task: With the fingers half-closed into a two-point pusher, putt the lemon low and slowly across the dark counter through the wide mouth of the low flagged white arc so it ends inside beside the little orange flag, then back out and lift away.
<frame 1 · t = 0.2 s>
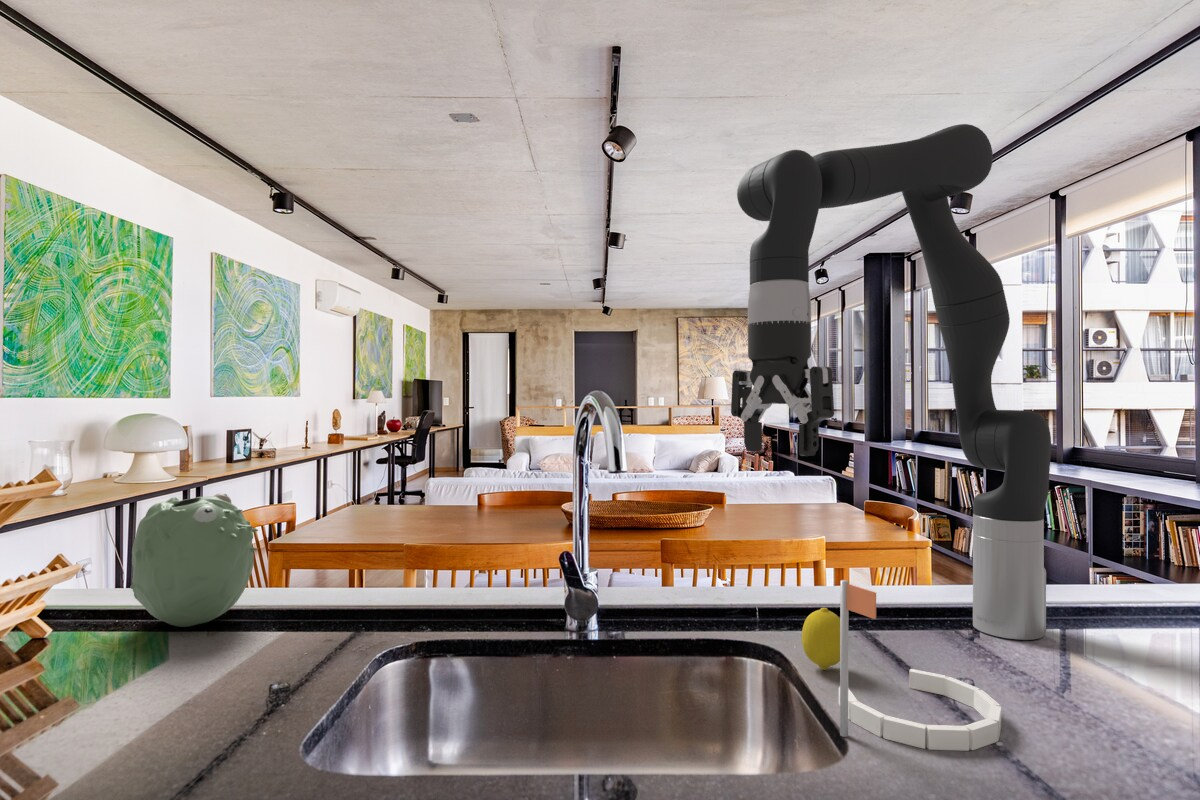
hand: (779, 453, 85), 28 cm above the worktop, tool pointing down, fingers open, 8 cm apart
flagged white arc: (917, 713, 77), on the worktop
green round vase: (192, 625, 107), on the worktop
lemon: (823, 671, 90), on the worktop
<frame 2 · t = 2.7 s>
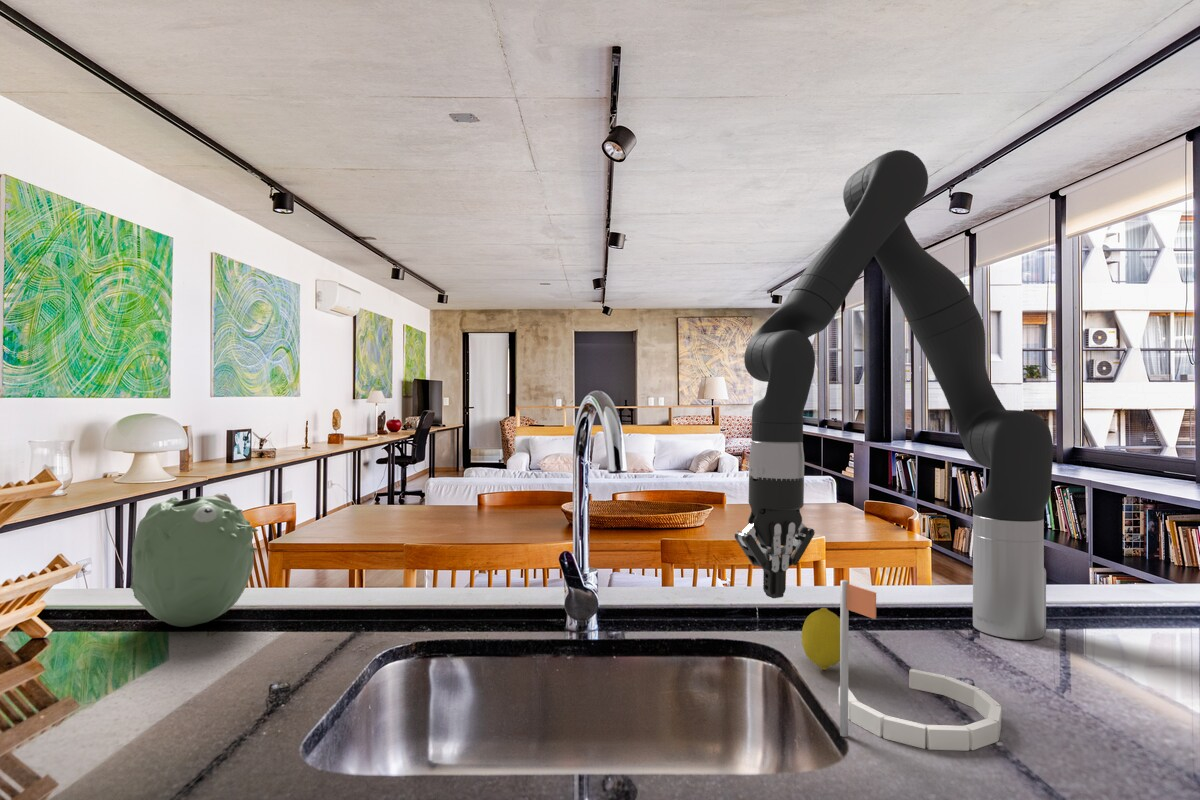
hand: (774, 596, 98), 7 cm above the worktop, tool pointing down, fingers closed
nothing on the worktop moved.
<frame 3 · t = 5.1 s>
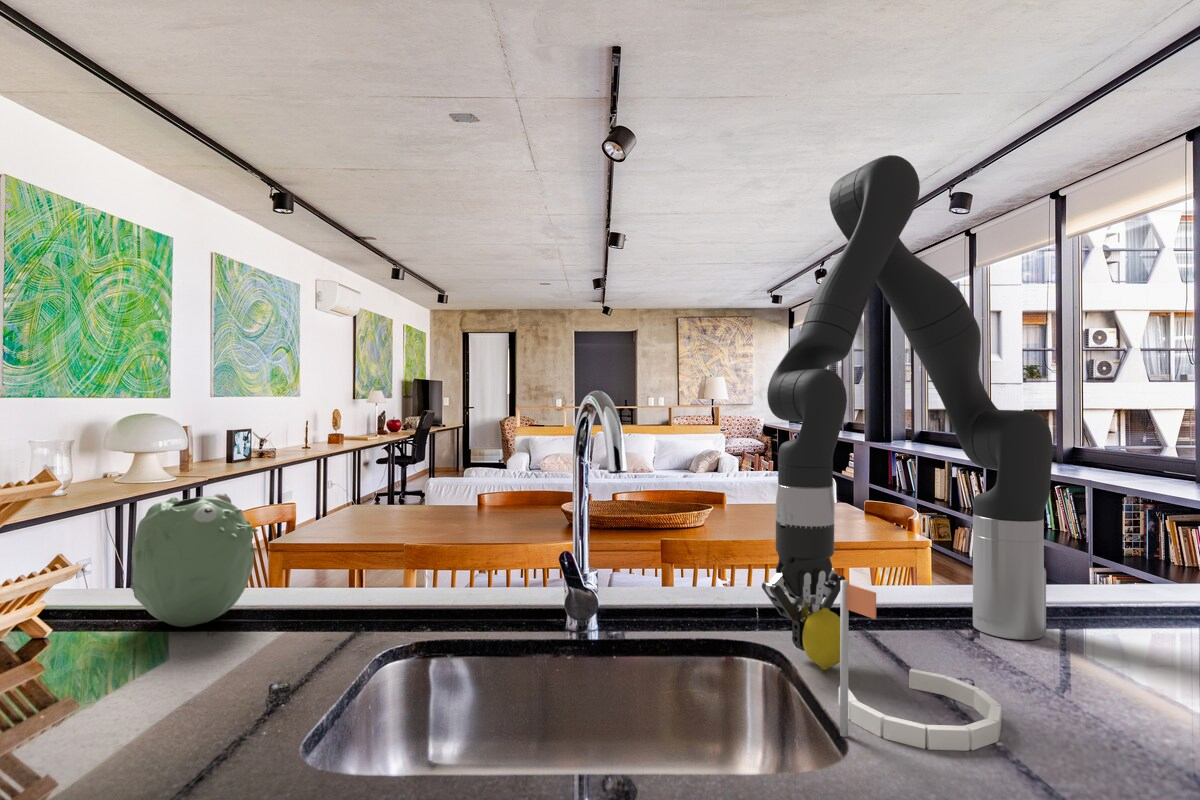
hand: (803, 648, 93), 2 cm above the worktop, tool pointing down, fingers closed
lemon: (824, 671, 89), on the worktop, touching gripper
everything else where it was.
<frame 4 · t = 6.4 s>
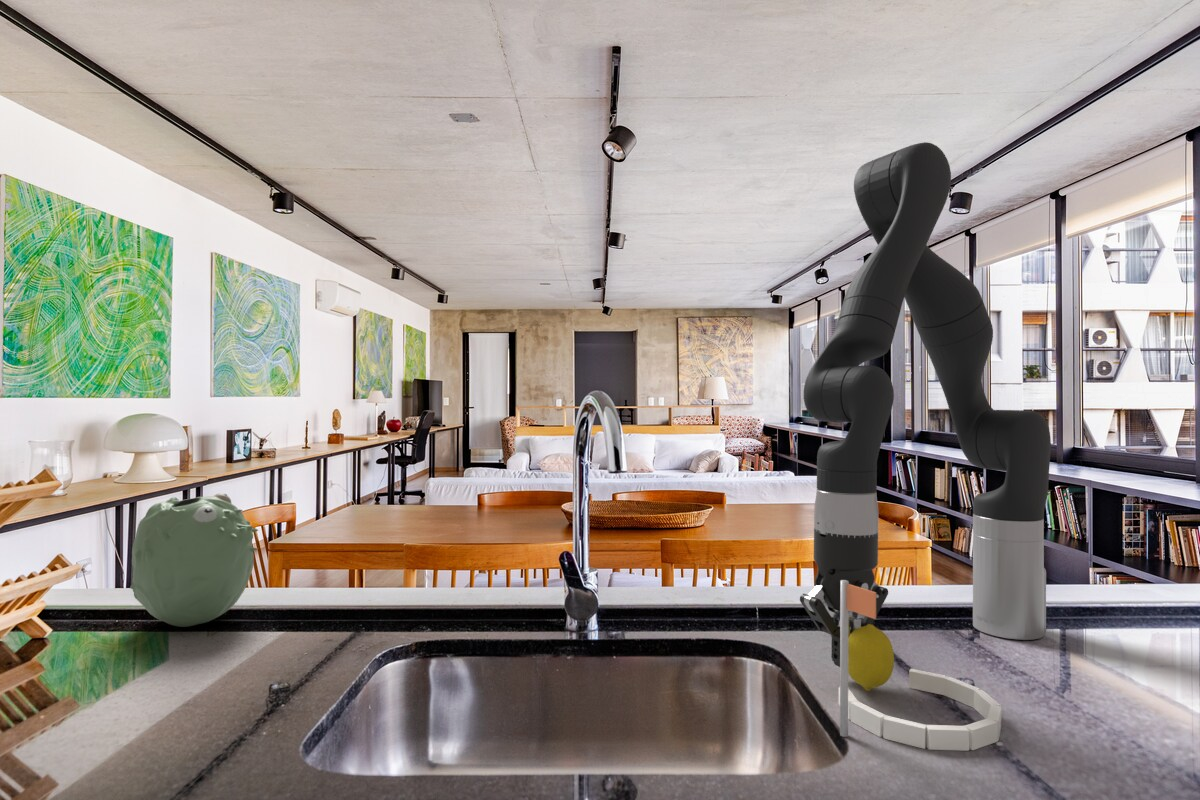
hand: (843, 665, 86), 2 cm above the worktop, tool pointing down, fingers closed
lemon: (867, 691, 83), on the worktop, touching gripper
everything else where it was.
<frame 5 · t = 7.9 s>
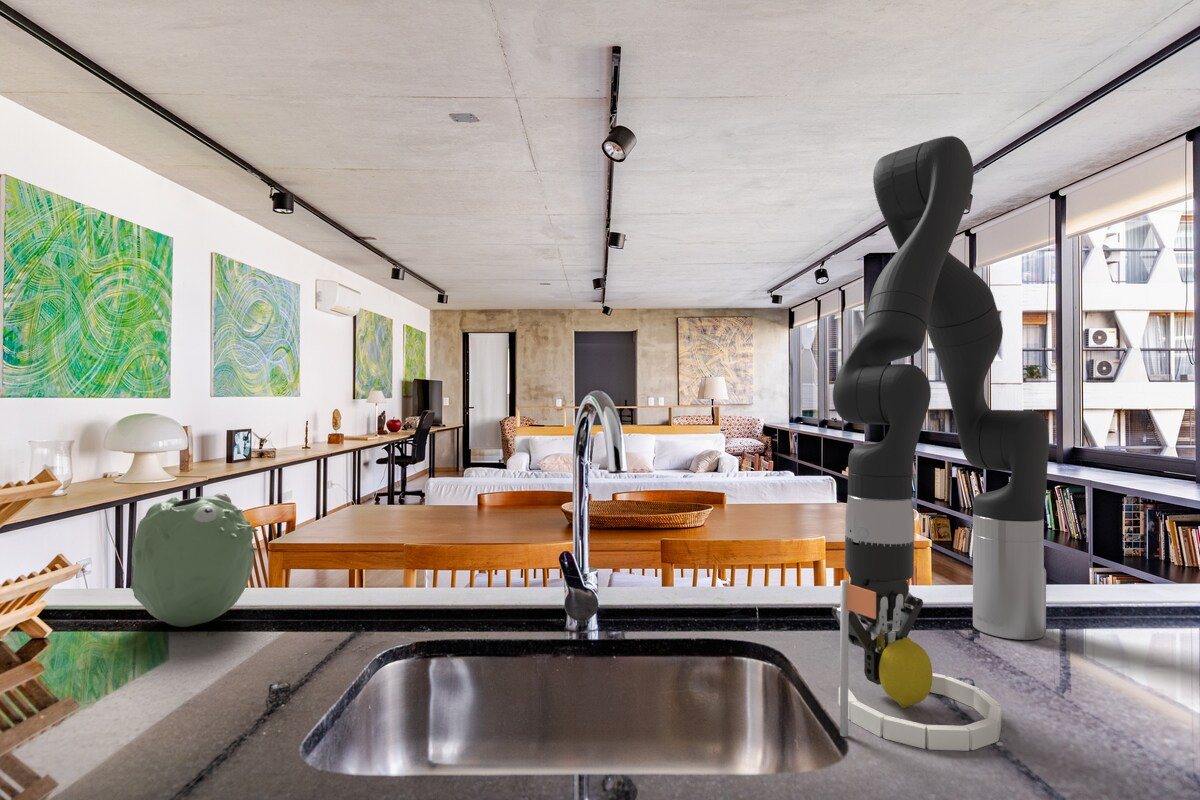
hand: (877, 681, 82), 2 cm above the worktop, tool pointing down, fingers closed
lemon: (903, 709, 79), on the worktop, touching gripper
everything else where it was.
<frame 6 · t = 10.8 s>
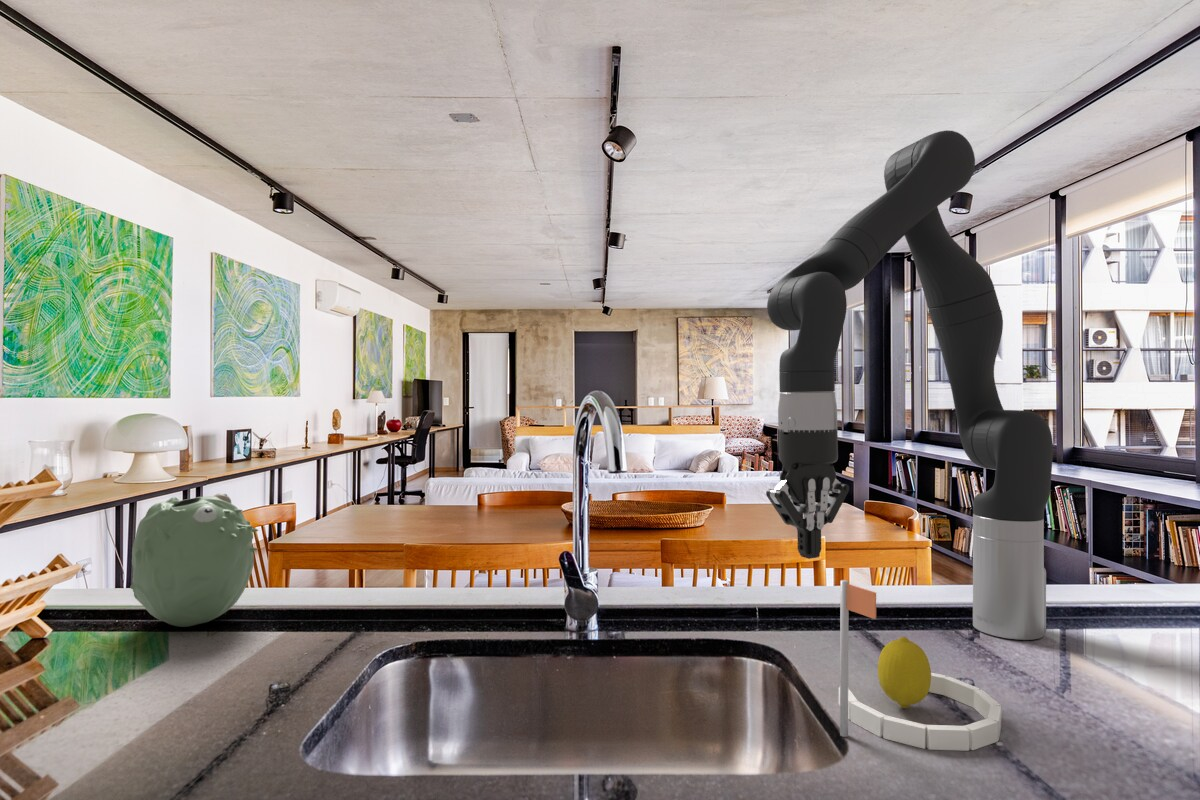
hand: (809, 556, 92), 14 cm above the worktop, tool pointing down, fingers closed
lemon: (904, 709, 79), on the worktop
everything else where it was.
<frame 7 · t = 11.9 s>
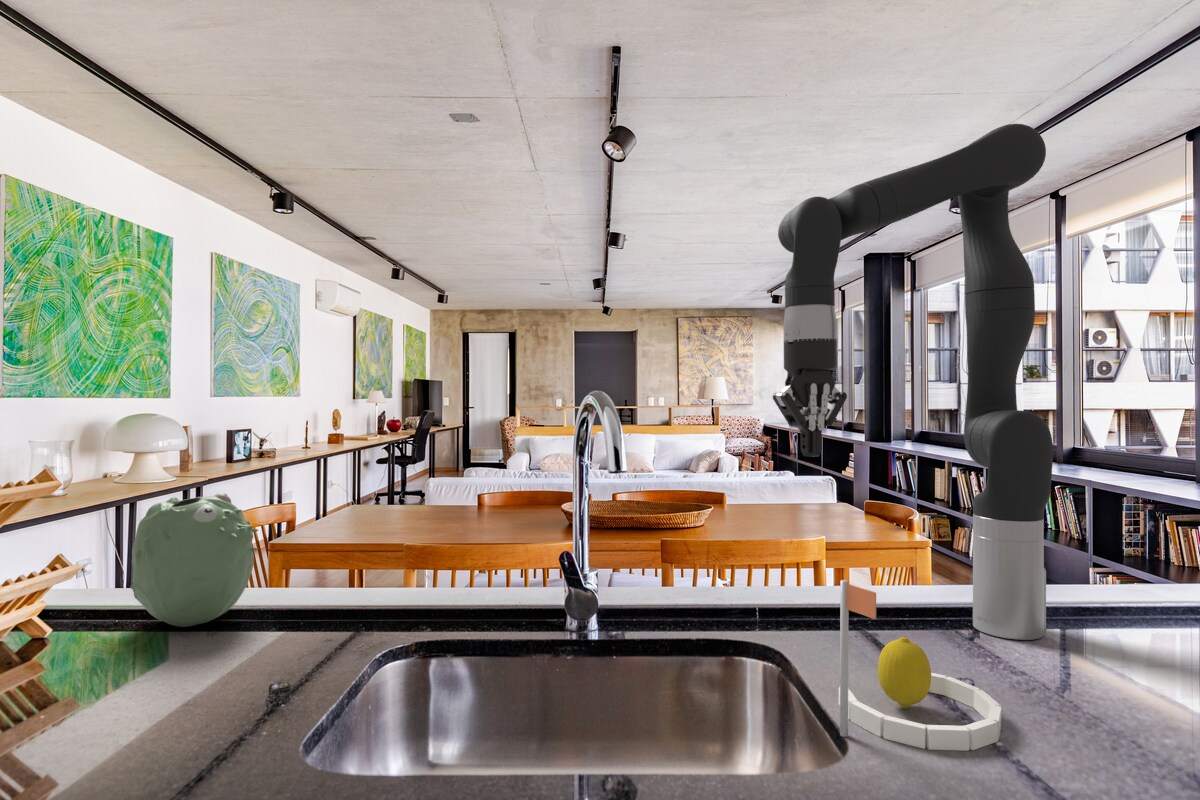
hand: (811, 456, 102), 26 cm above the worktop, tool pointing down, fingers closed
nothing on the worktop moved.
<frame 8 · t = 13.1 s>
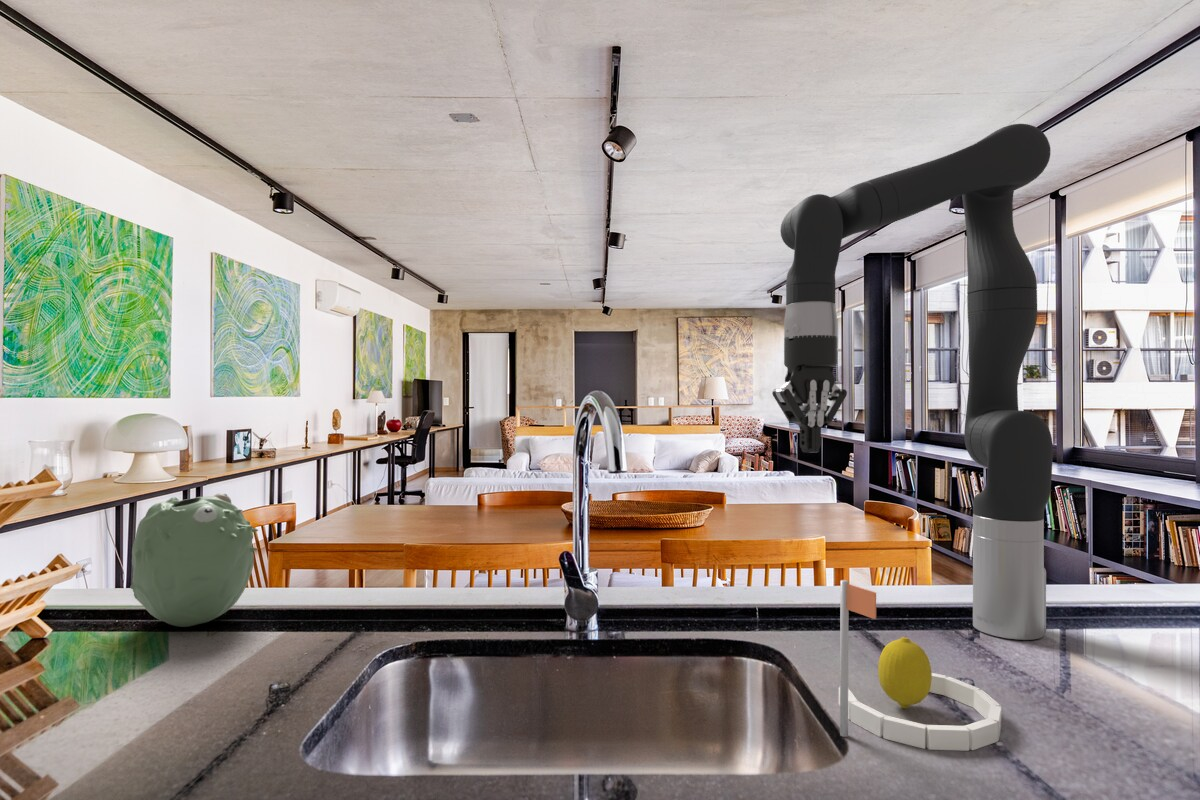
hand: (810, 452, 103), 27 cm above the worktop, tool pointing down, fingers closed
nothing on the worktop moved.
at the end: lemon inside the target area on the flagged white arc (1.4 cm from its centre), point 0.0 cm above the flagged white arc's base; lemon on the worktop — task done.
